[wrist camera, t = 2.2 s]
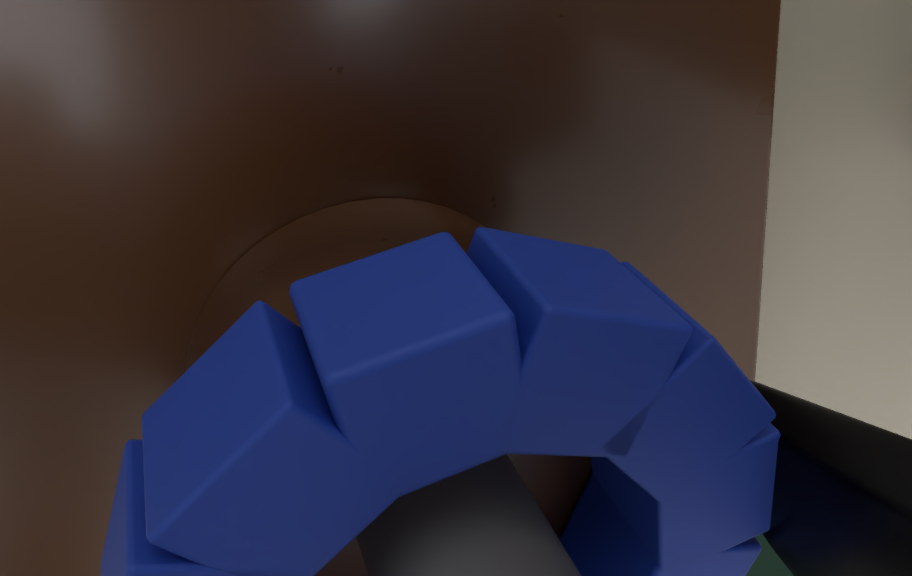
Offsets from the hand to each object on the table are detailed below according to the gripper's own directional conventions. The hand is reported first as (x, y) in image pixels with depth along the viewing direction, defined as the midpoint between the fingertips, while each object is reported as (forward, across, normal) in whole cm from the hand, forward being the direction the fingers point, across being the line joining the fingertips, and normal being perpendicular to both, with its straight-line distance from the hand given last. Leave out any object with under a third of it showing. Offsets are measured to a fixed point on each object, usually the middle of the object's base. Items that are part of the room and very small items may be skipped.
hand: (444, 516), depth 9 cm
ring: (0, 0, 0) cm, 0 cm away
